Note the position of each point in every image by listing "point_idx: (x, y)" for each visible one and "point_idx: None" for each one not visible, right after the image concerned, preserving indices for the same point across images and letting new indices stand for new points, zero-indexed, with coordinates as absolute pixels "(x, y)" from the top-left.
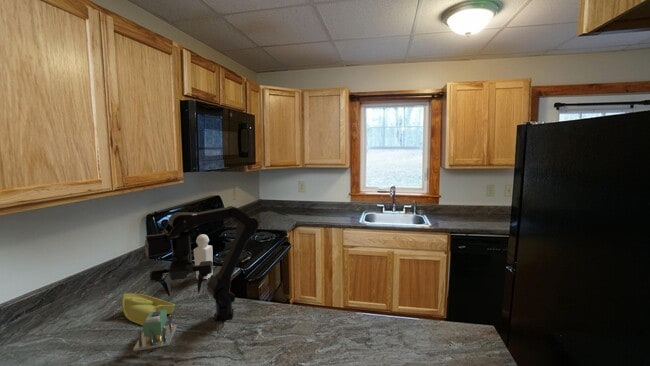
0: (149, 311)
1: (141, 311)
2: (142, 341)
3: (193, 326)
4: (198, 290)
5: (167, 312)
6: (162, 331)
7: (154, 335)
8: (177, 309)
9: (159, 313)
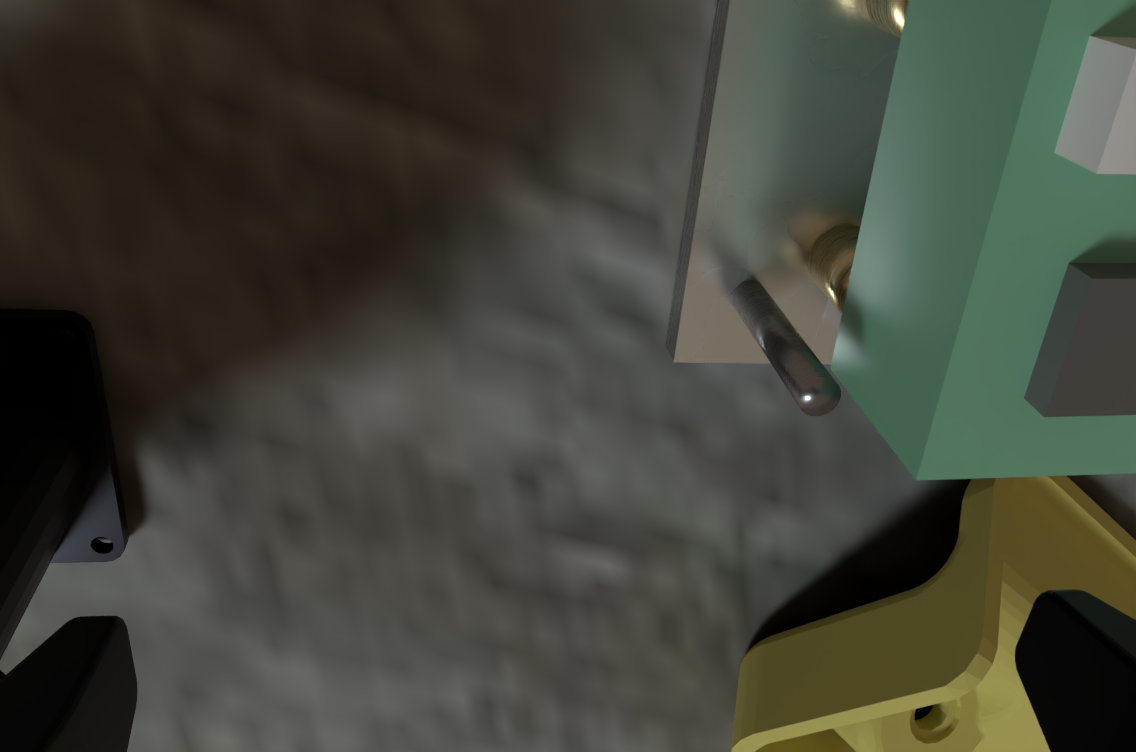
0: None
1: None
2: None
3: (419, 268)
4: (55, 676)
5: (810, 634)
6: (856, 225)
7: None
8: (685, 713)
9: (1052, 348)
